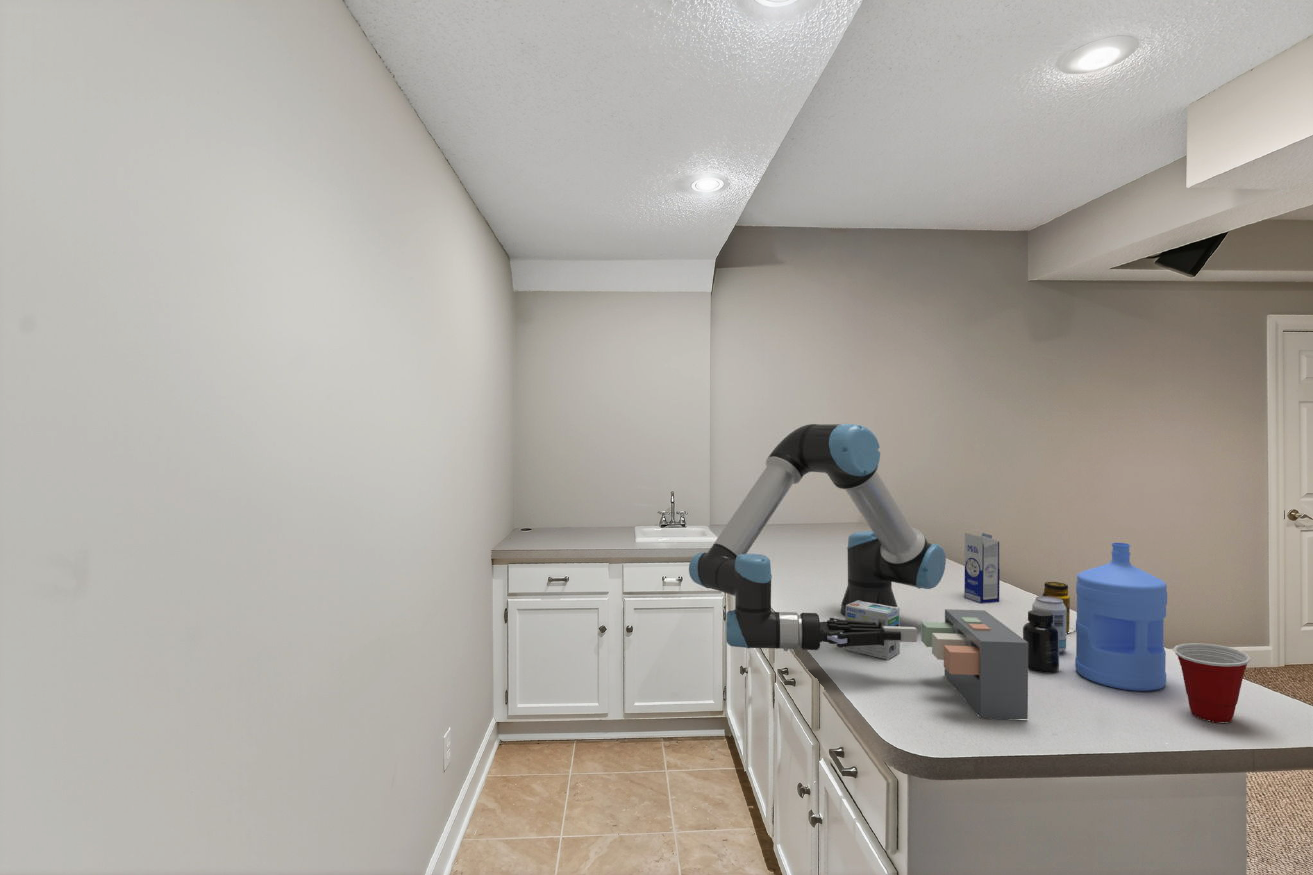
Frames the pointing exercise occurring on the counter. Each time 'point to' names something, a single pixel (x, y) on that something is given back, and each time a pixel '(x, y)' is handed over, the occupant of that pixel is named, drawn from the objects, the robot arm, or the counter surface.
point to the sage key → (934, 630)
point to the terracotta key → (962, 659)
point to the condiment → (1059, 596)
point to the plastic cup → (1212, 678)
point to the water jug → (1121, 625)
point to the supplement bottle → (1042, 642)
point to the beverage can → (1054, 615)
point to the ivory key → (946, 642)
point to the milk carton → (982, 568)
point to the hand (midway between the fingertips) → (915, 634)
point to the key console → (992, 666)
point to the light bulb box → (877, 614)
